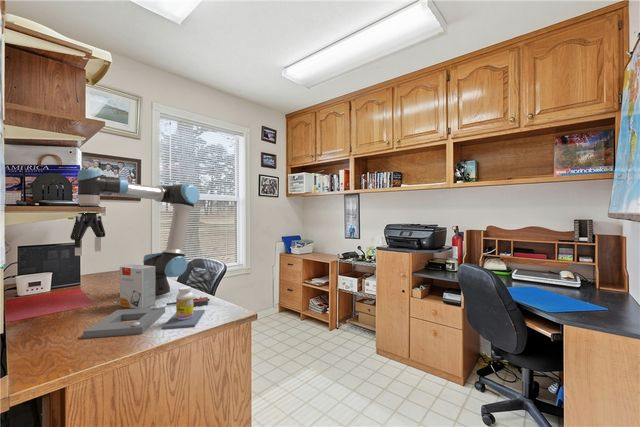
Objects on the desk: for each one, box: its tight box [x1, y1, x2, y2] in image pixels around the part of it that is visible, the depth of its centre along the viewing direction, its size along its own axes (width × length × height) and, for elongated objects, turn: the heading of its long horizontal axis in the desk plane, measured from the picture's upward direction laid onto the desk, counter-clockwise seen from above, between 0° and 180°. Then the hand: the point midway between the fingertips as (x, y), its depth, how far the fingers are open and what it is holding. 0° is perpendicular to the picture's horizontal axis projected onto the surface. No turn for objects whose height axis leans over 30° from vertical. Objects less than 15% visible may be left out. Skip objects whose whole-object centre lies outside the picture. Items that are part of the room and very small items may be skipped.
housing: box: [82, 305, 166, 339], centre depth 118 cm, size 24×20×4 cm
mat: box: [161, 309, 206, 330], centre depth 122 cm, size 18×12×1 cm, turn 10°
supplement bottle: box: [175, 285, 194, 320], centre depth 122 cm, size 7×7×13 cm
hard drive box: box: [119, 264, 156, 309], centre depth 141 cm, size 16×8×20 cm, turn 72°
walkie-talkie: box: [166, 295, 211, 308], centre depth 142 cm, size 9×4×20 cm
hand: (89, 253), depth 124 cm, fingers open, 13 cm apart
